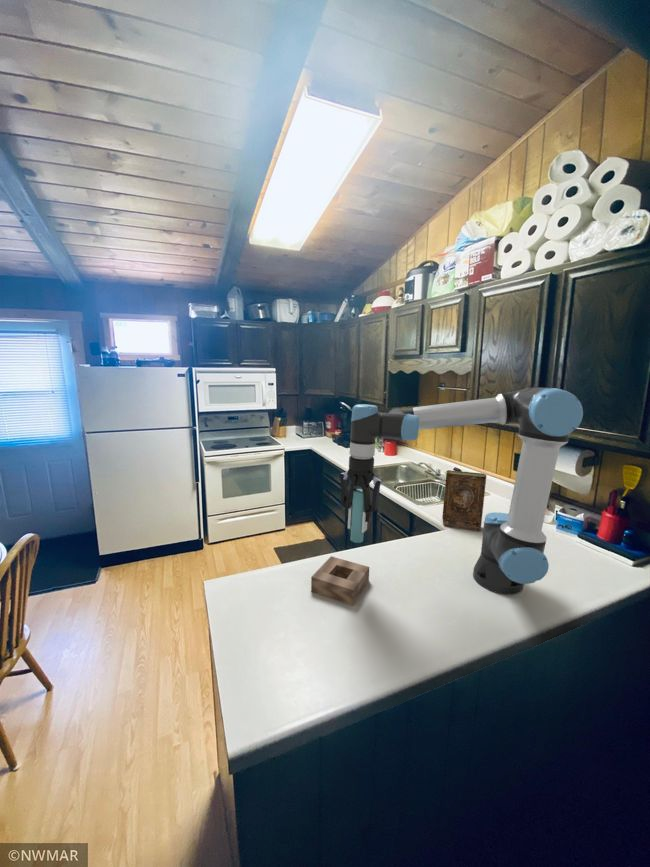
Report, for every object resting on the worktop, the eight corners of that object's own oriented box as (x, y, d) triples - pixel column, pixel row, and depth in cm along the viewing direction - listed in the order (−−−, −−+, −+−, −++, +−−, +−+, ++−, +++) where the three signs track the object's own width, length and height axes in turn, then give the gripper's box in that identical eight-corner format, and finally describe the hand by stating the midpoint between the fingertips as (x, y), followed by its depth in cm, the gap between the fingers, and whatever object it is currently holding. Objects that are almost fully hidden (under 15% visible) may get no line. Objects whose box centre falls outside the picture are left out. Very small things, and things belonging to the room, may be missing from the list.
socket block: (368, 580, 114) (369, 567, 113) (352, 605, 101) (353, 590, 100) (330, 569, 120) (331, 556, 119) (311, 591, 107) (311, 576, 107)
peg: (364, 538, 109) (368, 490, 106) (360, 544, 106) (363, 494, 103) (353, 535, 111) (356, 488, 108) (348, 540, 107) (351, 491, 105)
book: (479, 526, 157) (485, 473, 153) (481, 531, 152) (487, 477, 148) (442, 521, 162) (446, 469, 158) (442, 526, 157) (446, 473, 152)
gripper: (392, 457, 103) (387, 530, 107) (341, 450, 111) (337, 518, 115) (385, 463, 96) (379, 540, 100) (331, 454, 104) (327, 526, 108)
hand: (357, 528), depth 108 cm, fingers closed on peg, 4 cm apart
